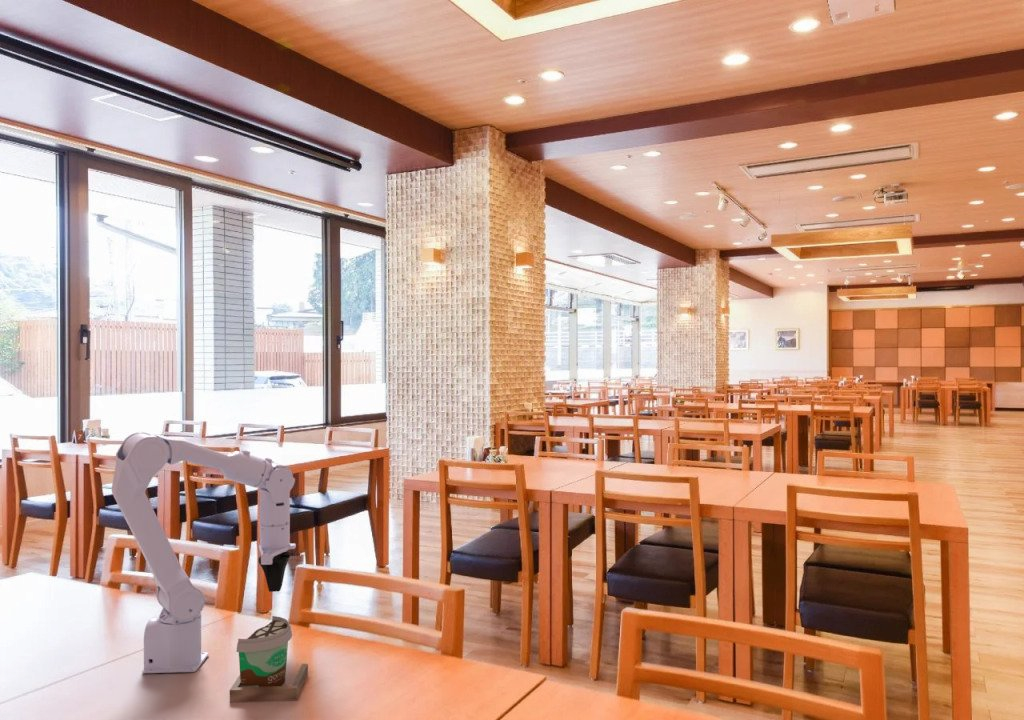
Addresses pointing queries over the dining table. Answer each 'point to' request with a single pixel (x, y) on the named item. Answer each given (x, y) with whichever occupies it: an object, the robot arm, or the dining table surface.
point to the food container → (265, 655)
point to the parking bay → (269, 690)
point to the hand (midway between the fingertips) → (274, 590)
